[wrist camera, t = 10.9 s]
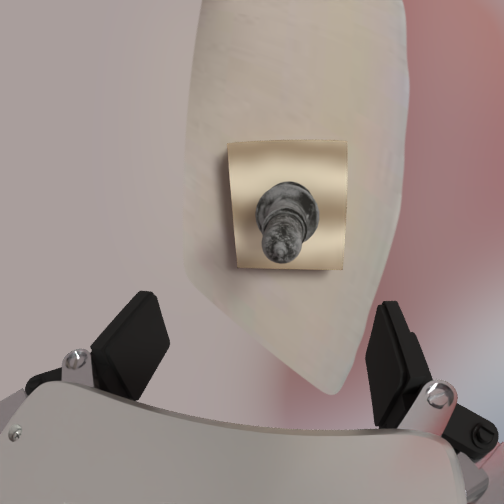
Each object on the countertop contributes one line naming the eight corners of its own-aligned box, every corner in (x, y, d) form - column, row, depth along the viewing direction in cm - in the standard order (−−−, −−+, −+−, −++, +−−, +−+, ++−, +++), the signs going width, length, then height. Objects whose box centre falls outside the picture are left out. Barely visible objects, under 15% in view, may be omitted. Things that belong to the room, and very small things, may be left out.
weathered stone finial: (253, 222, 29) (223, 277, 18) (271, 170, 27) (248, 195, 16) (305, 241, 29) (304, 306, 18) (326, 190, 26) (341, 230, 16)
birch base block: (233, 142, 29) (227, 143, 26) (342, 140, 27) (347, 141, 24) (242, 256, 35) (237, 267, 32) (339, 258, 32) (342, 269, 30)
